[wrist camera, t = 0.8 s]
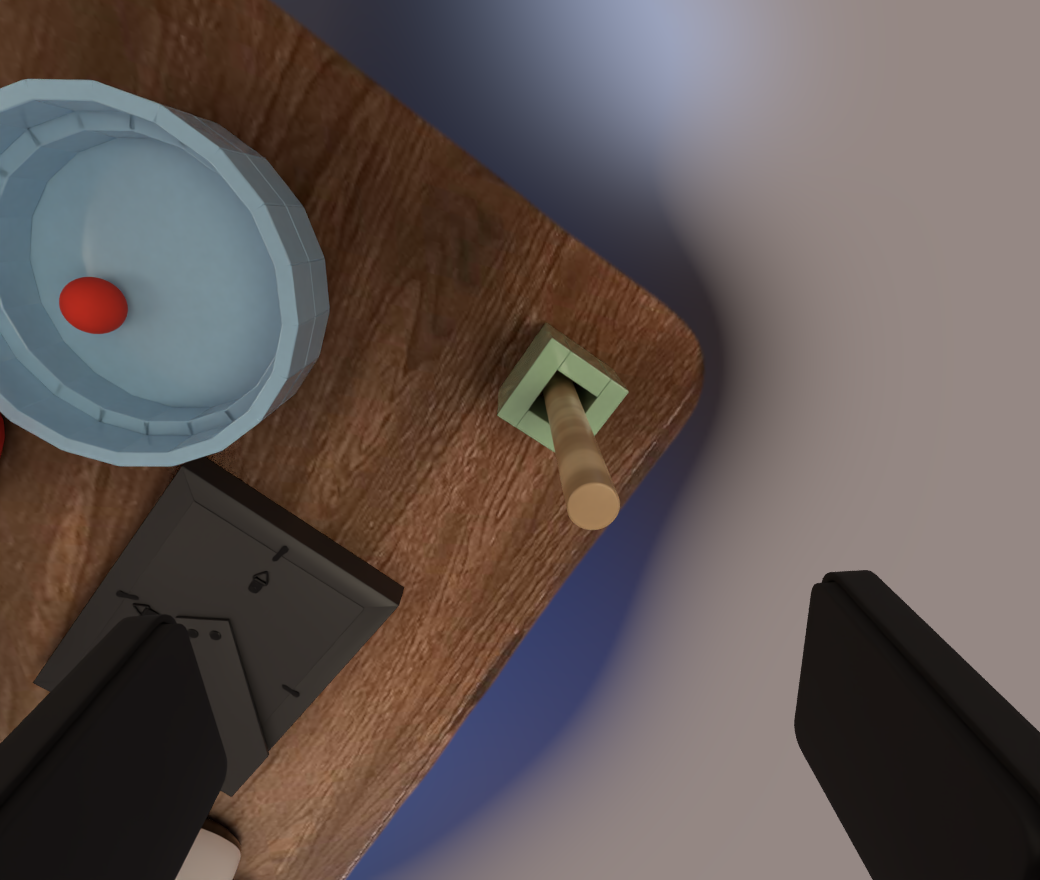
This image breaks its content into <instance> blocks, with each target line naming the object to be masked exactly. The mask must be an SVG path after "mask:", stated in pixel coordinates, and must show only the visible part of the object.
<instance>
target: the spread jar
mask: <svg viewBox="0 0 1040 880" xmlns="http://www.w3.org/2000/svg"><path fill="white" fill-rule="evenodd" d="M240 858H241V846H240V843H239V841H238V840H237V839H236V837H235V836H234V835H233V834H232V833H231V832H230V831H229V830H227V829H226V828H225V827H224V826H222V825H221V824H219V823H217V822H215V821H213V820H211V819H208V818H206V820H205V822H204V823H203V825H202V827H201V829H200V831H199V833H198V835H197V837H196V839H195V841H194V843H193V845H192V847H191V849H190V851H189V853H188V855H187V857H186V859H185V861H184V863H183V865H182V867H181V869H180V871H179V873H178V875H177V877H176V879H175V880H233V877H234V875H235V872H236V870H237V867H238V864H239V861H240Z"/></svg>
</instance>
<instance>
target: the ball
mask: <svg viewBox="0 0 1040 880" xmlns="http://www.w3.org/2000/svg"><path fill="white" fill-rule="evenodd" d="M59 307H60V310H61V313H62V315H63V316H64V318H65V319H66V320H67V321H68V322H69V323H70V324H71V325H72V326H74V327H75V328H77V329H79V330H81V331H83V332H87V333H91V334H104V333H109V332H111V331H114V330H116V329H117V328H119V327H120V326H121V325H122V324H123V322H124V321H125V319H126V317H127V313H128V305H127V301H126V299H125V296H124V295H123V293H122V292H121V291H120V290H119V289H118V288H117V287H116V286H115V285H113V284H112V283H110V282H109V281H106V280H104V279H101V278H96V277H82V278H78V279H75V280H73V281H71V282H69V283H68V284H67V285H66V286H65V287H64V288H63V290H62V292H61V294H60V297H59Z"/></svg>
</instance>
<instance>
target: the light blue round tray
mask: <svg viewBox="0 0 1040 880" xmlns="http://www.w3.org/2000/svg"><path fill="white" fill-rule="evenodd" d="M82 277H96V278H101V279H104V280H106V281H109V282H110V283H112V284H113V285H115V286H116V287H117V288H118V289H119V290H120V291H121V292H122V293H123V295H124V296H125V299H126V301H127V305H128V313H127V317H126V319H125V321H124V322H123V324H122V325H121V326H120V327H119V328H117V329H116V330H114V331H111V332H109V333H104V334H91V333H87V332H83V331H81V330H79V329H77V328H75V327H74V326H72V325H71V324H70V323H69V322H68V321H67V320H66V319H65V318H64V316H63V315H62V313H61V310H60V307H59V297H60V294H61V292H62V290H63V288H64V287H65V286H66V285H67V284H68V283H69V282H71V281H73V280H75V279H78V278H82ZM329 309H330V306H329V296H328V286H327V276H326V266H325V259H324V255H323V253H322V250H321V248H320V245H319V243H318V241H317V238H316V236H315V233H314V231H313V228H312V226H311V224H310V221H309V219H308V216H307V214H306V211H305V209H304V207H303V206H302V204H301V203H300V202H299V200H298V199H297V198H296V196H295V195H294V194H293V193H292V191H291V190H290V189H289V187H288V186H287V185H286V184H285V182H284V181H283V180H282V179H281V177H280V176H279V175H278V173H277V172H276V171H275V170H274V168H273V167H272V166H271V164H270V163H269V162H268V161H267V160H266V158H264V157H263V156H261V155H260V154H259V153H257V152H256V151H255V150H253V149H252V148H251V147H249V146H248V145H246V144H245V143H244V142H242V141H241V140H240V139H238V138H237V137H236V136H234V135H233V134H232V133H230V132H229V131H227V130H226V129H225V128H223V127H222V126H221V125H219V124H217V123H215V122H213V121H210V120H207V119H204V118H201V117H199V116H196V115H193V114H190V113H187V112H185V111H182V110H179V109H176V108H174V107H171V106H168V105H165V104H162V103H159V102H156V101H153V100H151V99H148V98H145V97H142V96H139V95H136V94H133V93H130V92H127V91H124V90H121V89H118V88H115V87H112V86H109V85H106V84H103V83H101V82H98V81H95V80H72V79H26V80H24V79H23V80H21V81H18V82H16V83H13V84H10V85H8V86H5V87H3V88H0V412H1V413H2V414H3V415H4V416H5V417H6V418H7V419H9V421H11V422H13V423H14V424H16V425H18V426H20V427H21V428H23V429H25V430H27V431H29V432H30V433H32V434H34V435H36V436H37V437H39V438H41V439H43V440H44V441H46V442H48V443H50V444H52V445H53V446H55V447H57V448H59V449H60V450H63V451H66V452H70V453H73V454H77V455H80V456H84V457H87V458H91V459H95V460H98V461H102V462H105V463H109V464H113V465H116V466H176V465H179V464H182V463H185V462H189V461H192V460H195V459H198V458H201V457H205V456H208V455H211V454H214V453H218V452H221V451H223V450H224V449H225V448H227V447H228V446H229V445H231V444H232V443H233V442H235V441H236V440H237V439H239V438H240V437H241V436H243V435H244V434H245V433H247V432H248V431H249V430H251V429H252V428H253V427H254V426H256V425H257V424H258V423H260V422H261V421H262V420H264V419H265V418H266V417H267V416H268V415H270V414H271V413H272V412H273V411H275V410H276V409H277V408H278V407H279V406H281V405H282V404H283V403H284V402H286V401H287V400H288V399H289V398H291V397H292V396H293V395H294V394H295V393H296V392H297V391H298V389H299V387H300V386H301V384H302V383H303V381H304V380H305V378H306V376H307V375H308V373H309V372H310V370H311V369H312V367H313V365H314V364H315V362H316V361H317V359H318V358H319V355H320V352H321V347H322V343H323V338H324V334H325V329H326V325H327V320H328V316H329V312H330V311H329Z"/></svg>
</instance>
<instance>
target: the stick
mask: <svg viewBox="0 0 1040 880" xmlns="http://www.w3.org/2000/svg"><path fill="white" fill-rule="evenodd" d="M543 395H544V400H545V405H546V410H547V415H548V420H549V425H550V430H551V434H552V439H553V444H554V449H555V454H556V459H557V464H558V469H559V474H560V479H561V484H562V489H563V494H564V498H565V503H566V508H567V513H568V516H569V518H570V519H571V520H572V522H573V523H574V524H576V525H577V526H579V527H581V528H583V529H587V530H597V529H601V528H604V527H606V526H608V525H609V524H610V523H612V522H613V521H614V519H615V518H616V516H617V515H618V512H619V509H620V500H619V497H618V494H617V492H616V489H615V487H614V484H613V482H612V479H611V477H610V474H609V472H608V469H607V467H606V464H605V462H604V459H603V457H602V454H601V452H600V449H599V447H598V444H597V442H596V439H595V437H594V434H593V432H592V429H591V427H590V424H589V422H588V419H587V417H586V414H585V412H584V409H583V407H582V404H581V402H580V399H579V397H578V394H577V392H576V389H575V387H574V384H573V382H572V380H571V379H570V378H568V377H567V376H565V375H564V374H562V373H561V372H559V371H558V369H557V371H556V372H555V374H554V375H553V376H552V378H551V379H550V380H549V382H548V383H547V385H546V386H545V387H544V389H543Z"/></svg>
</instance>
